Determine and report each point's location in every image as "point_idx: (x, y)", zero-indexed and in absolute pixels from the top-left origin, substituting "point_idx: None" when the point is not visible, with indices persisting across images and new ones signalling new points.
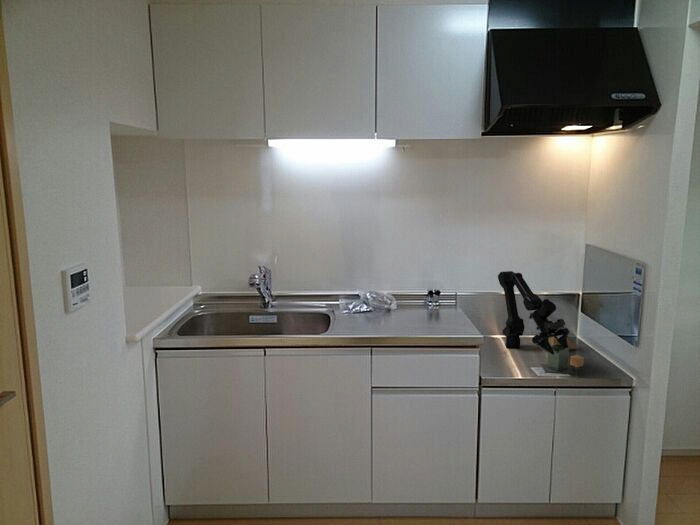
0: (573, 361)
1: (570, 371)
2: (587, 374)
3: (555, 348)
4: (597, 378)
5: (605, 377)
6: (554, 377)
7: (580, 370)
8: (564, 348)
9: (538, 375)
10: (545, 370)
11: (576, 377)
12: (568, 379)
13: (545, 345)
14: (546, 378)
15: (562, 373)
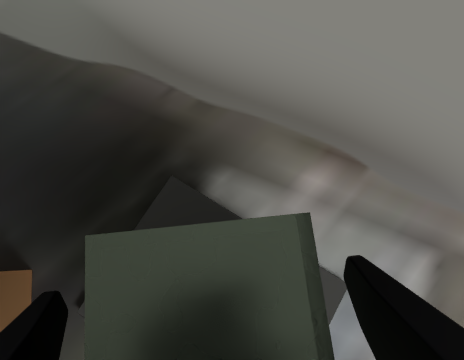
0: (6, 319)
1: (168, 207)
2: (87, 139)
3: (302, 316)
4: (88, 70)
5: (27, 63)
6: (338, 185)
7: (67, 212)
8: (161, 252)
9: (424, 257)
10: (333, 298)
11: (199, 130)
12: (273, 126)
13: None
14: (401, 193)
15: (237, 216)
